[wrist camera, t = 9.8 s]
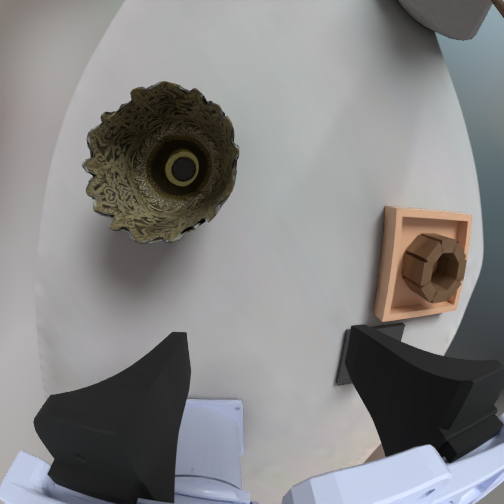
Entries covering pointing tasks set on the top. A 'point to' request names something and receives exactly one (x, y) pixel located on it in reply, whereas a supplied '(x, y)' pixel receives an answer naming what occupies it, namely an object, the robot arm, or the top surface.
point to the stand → (343, 376)
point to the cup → (161, 163)
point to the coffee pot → (451, 15)
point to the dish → (394, 246)
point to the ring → (421, 264)
